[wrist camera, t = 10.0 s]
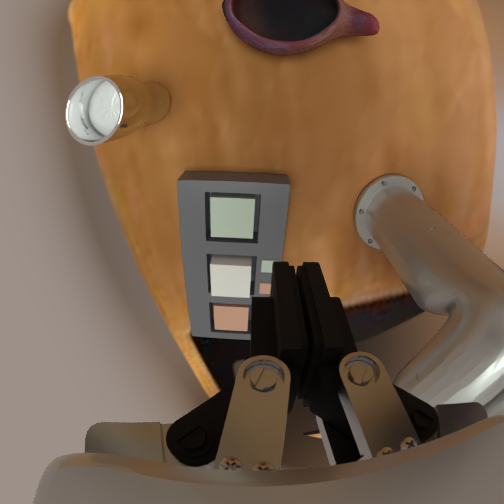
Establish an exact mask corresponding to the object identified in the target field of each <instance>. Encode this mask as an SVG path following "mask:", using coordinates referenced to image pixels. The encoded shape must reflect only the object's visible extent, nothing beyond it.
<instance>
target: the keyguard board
mask: <svg viewBox="0 0 504 504" xmlns="http://www.w3.org/2000/svg"><path fill="white" fill-rule="evenodd" d="M290 186H291V184H290V182H289V179H288V177H287V175H279V174H264V173H246V172H218V171H185V172H184V173H183V174H182V175H181V177H180V178H179V179H178V180H177V188H178V206H179V221H180V235H181V246H182V257H183V267H184V277H185V286H186V294H187V302H188V310H189V317H190V324H191V331H192V336H199V337H212V338H226V339H245V340H251V303H252V297H270V290H271V277H272V265H273V261H277V262H282V254H283V246H284V238H285V230H286V222H287V213H288V204H289V195H290ZM212 192H221V193H245V194H255V211H254V228H253V239H248V238H227V237H211V213H210V197H211V195H212ZM212 254H220V255H240V256H252V263H251V282H250V298H241V297H223V296H211V276H210V262H211V258H212ZM214 303H227V304H246V305H249V311H248V328H247V331H232V330H217V329H215V324H214Z"/></svg>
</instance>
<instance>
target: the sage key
mask: <svg viewBox="0 0 504 504" xmlns="http://www.w3.org/2000/svg"><path fill="white" fill-rule="evenodd" d="M254 211H255V194H245V193H221V192H212V195H211V197H210V213H211V237H227V238H248V239H253V228H254Z"/></svg>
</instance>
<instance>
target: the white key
mask: <svg viewBox="0 0 504 504" xmlns="http://www.w3.org/2000/svg"><path fill="white" fill-rule="evenodd" d="M251 263H252V256H240V255H220V254H212V258H211V262H210V276H211V296H223V297H241V298H250V282H251Z"/></svg>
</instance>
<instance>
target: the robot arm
mask: <svg viewBox="0 0 504 504" xmlns="http://www.w3.org/2000/svg"><path fill="white" fill-rule="evenodd" d="M382 181H383V183H382ZM360 209H361V210H360ZM354 223H355V227H356V230H357V232H358V234H359V236H360V237H361V239H362V240H363V241H364V242H365V243H366V244H367V245H369V246H371V247H372V248H375V249H379V250H382V251H383V253H384V254H385V256H386V257H387V259H388V260H389V262H390V263H391V265H392V266H393V268H394V269H395V271H396V272H397V274H398V275H399V277H400V278H401V280H402V282H403V283H404V285H405V286H406V288H407V289H408V291H409V293H410V294H411V296H412V297H413V299H414V301H415V302H416V303H417V304H418V305H419V306H420V307H421V308H422V309H424V310H425V311H427V312H429V313H432V314H435V315H440V316H449V317H448V319H447V321H446V322H445V323H444V325H443V326H442V327H441V328H440V329H439V330H438V332H437V333H436V334H435V335H434V336H433V338H432V339H431V340H430V341H429V342H428V343H427V344H426V345H425V346H424V347H423V348H422V349H421V350H420V351H419V352H418V353H417V354H416V355H415V356H414V357H413V358H412V359H411V360H410V361H409V362H408V363H406V365H405V366H404V367H403V368H402V369H401V370H400V371H399V372H398V373H397V375H396V376H395V378H394V380H393V381H392V382H391V380H390V378H389V376H388V374H387V372H386V371H385V368H384V366H383V365H382V363H381V362H380V361H379V360H378V359H377V358H376V357H375V356H373V355H371V354H369V353H364V352H358V351H357V348H356V345H355V342H354V339H353V336H352V333H351V330H350V326H349V323H348V320H347V317H346V315H345V312H344V309H343V306H342V303H341V300H340V298H338V297H330V295H329V292H328V289H327V286H326V283H325V280H324V277H323V274H322V271H321V268H320V265H319V263H318V262H303V265H302V266H298V267H297V272H296V274H295V269H294V266H289V263H288V262H277V261H273V265H272V277H271V290H270V297H252V303H251V345H250V359H248V360H246V361H245V362H244V363H243V364H242V365H241V366H240V368H239V370H238V373H237V377H236V380H235V381H234V382H233V383H231V384H230V385H229V386H227V387H226V388H224V389H223V390H222V391H220V392H219V393H217V394H216V395H214V396H213V397H211V398H210V399H209V400H207V401H206V402H204V403H203V404H201V405H200V406H198V407H197V408H195V409H194V410H192V411H191V412H189V413H188V414H186V415H185V416H183V417H182V418H180V419H178V420H177V421H175V422H174V423H172V424H160V422H143V423H118V422H101V423H96V424H94V425H93V426H91V427H90V429H89V430H88V431H87V434H86V438H85V453H75V454H69V455H64V456H61V457H58V458H56V459H55V460H53V461H52V462H51V463H50V464H49V465H48V467H47V468H46V470H45V471H44V474H43V475H42V478H41V480H40V482H39V485H38V488H37V491H36V494H35V498H34V502H33V504H504V270H503V269H502V268H500V267H499V266H498V265H497V264H495V263H494V262H493V261H492V260H490V259H489V258H488V257H487V256H486V255H485V254H484V253H483V252H482V251H481V250H479V249H478V248H477V247H476V246H475V245H474V244H473V243H472V242H471V241H470V240H468V239H467V238H466V237H465V236H464V235H463V234H462V233H461V232H460V231H458V230H457V229H456V228H455V227H454V226H453V225H452V224H450V223H449V222H448V221H447V220H446V219H445V218H443V217H442V216H441V215H440V214H439V213H437V212H436V211H435V210H434V209H433V208H431V207H430V206H429V205H428V204H426V203H425V202H424V197H423V194H422V192H421V190H420V188H419V187H418V186H417V185H416V184H415V183H414V182H413V181H412V180H410V179H409V178H407V177H405V176H403V175H398V174H388V175H384V176H381V177H379V178H377V179H375V180H374V181H372V182H371V183H370V184H369V185H368V186H367V187H366V188H365V189H364V190H363V191H362V193H361V194H360V196H359V198H358V200H357V203H356V206H355V210H354ZM296 395H297V397H298V399H303V405H304V407H307V406H310V411H311V412H312V413H314V414H315V415H316V419H317V423H318V427H319V430H320V433H321V436H322V440H323V443H324V446H325V450H326V453H327V456H328V459H329V463H330V466H325V467H316V468H307V469H294V470H280V466H281V459H282V451H283V442H284V436H285V427H286V419H287V415H288V414H289V413H290V412H291V410H292V407H293V404H294V401H295V398H296Z"/></svg>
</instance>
